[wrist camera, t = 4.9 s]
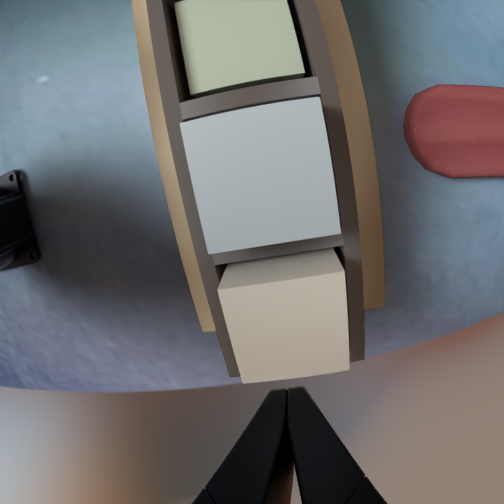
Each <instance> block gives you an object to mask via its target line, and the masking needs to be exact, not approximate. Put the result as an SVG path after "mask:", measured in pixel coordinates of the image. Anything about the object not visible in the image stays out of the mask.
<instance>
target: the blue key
mask: <svg viewBox="0 0 504 504" xmlns="http://www.w3.org/2000/svg"><path fill="white" fill-rule="evenodd" d="M180 128H181V133H182V138H183V143H184V148H185V153H186V158H187V162H188V167H189V172H190V176H191V181H192V186H193V190H194V195H195V199H196V204H197V208H198V212H199V217H200V221H201V225H202V230H203V234H204V238H205V242H206V246H207V251H208V254H214V253H221V252H227V251H233V250H240V249H246V248H252V247H259V246H265V245H272V244H278V243H284V242H291V241H297V240H304V239H310V238H317V237H323V236H330V235H336V234H341V229H340V221H339V212H338V204H337V197H336V189H335V182H334V175H333V169H332V162H331V156H330V150H329V144H328V138H327V132H326V127H325V121H324V116H323V111H322V106H321V101H320V97H313V98H305V99H298V100H291V101H284V102H278V103H272V104H266V105H260V106H255V107H249V108H244V109H239V110H234V111H229V112H225V113H220V114H216V115H211V116H207V117H203V118H199V119H195V120H191V121H187V122H183V123H180Z"/></svg>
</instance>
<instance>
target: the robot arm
mask: <svg viewBox="0 0 504 504" xmlns="http://www.w3.org/2000/svg"><path fill="white" fill-rule="evenodd" d="M13 177H14V179H13ZM33 254H34V255H33ZM34 256H35V257H34ZM40 257H41V255H40V251H39V248H38V245H37V242H36V238H35V235H34V232H33V228H32V225H31V221H30V217H29V214H28V210H27V206H26V202H25V198H24V193H23V189H22V184H21V180H20V175H19V172H18V171H17V170H12V171H9V172H7V173H5V174H4V175H2V176H0V271H2V270H6V269H10V268H15V267H19V266H24V265H28V264H32V263H35V262H37V261H39V260H40ZM294 465H295V471H296V476H297V481H298V486H299V491H300V496H301V501H302V504H387V503H386V501H385V500H384V499H383V497H382V496H381V495H380V494H379V492H378V491H377V490H376V489H375V487H374V486H373V485H372V483H371V482H370V480H369V479H368V478H367V477H365V474H364V472H363V471H362V470H361V468H360V467H359V465H358V464H357V463H356V461H355V460H354V458H353V457H352V456H351V454H350V453H349V451H348V450H347V449H346V447H345V445H344V444H343V443H342V442H341V440H340V438H339V437H338V436H337V434H336V433H335V431H334V430H333V428H332V427H331V425H330V424H329V422H328V421H327V420H326V418H325V417H324V415H323V414H322V412H321V411H320V409H319V408H318V406H317V405H316V403H315V402H314V401H313V399H312V398H311V396H310V395H309V393H308V392H307V390H306V389H305V387H303V386H298V387H290V388H288V390H287V389H285V388H281V389H272V390H270V392H269V393H268V395H267V396H266V398H265V399H264V401H263V403H262V404H261V406H260V407H259V409H258V411H257V412H256V414H255V415H254V417H253V418H252V420H251V421H250V423H249V424H248V426H247V427H246V429H245V430H244V432H243V433H242V435H241V436H240V438H239V439H238V441H237V442H236V444H235V445H234V447H233V448H232V450H231V451H230V452H229V454H228V455H227V457H226V458H225V460H224V461H223V463H222V464H221V465H220V467H219V468H218V469H217V471H216V472H215V474H214V475H213V477H212V478H211V479H210V481H209V482H208V483H207V485H206V486H205V488H206V489H203V490H202V491H201V492H200V494H199V495H198V496H197V498H196V499H195V500H194V502H193V503H192V504H290V501H291V493H292V484H293V474H294Z"/></svg>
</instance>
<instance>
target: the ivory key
mask: <svg viewBox="0 0 504 504" xmlns="http://www.w3.org/2000/svg"><path fill="white" fill-rule="evenodd" d="M217 291H218V295H219V299H220V303H221V306H222V310H223V314H224V318H225V322H226V325H227V329H228V333H229V336H230V340H231V344H232V347H233V351H234V355H235V358H236V362H237V365H238V369H239V372H240V376H241V379H242V383H255V382H266V381H275V380H284V379H293V378H301V377H308V376H315V375H322V374H328V373H334V372H340V371H346V370H349V369H350V364H349V333H348V313H347V297H346V283H345V271H344V269H343V267H342V265H341V263H340V261H339V259H338V257H337V255H336V253H335V251H334V249H333V247H330V248H323V249H317V250H310V251H304V252H297V253H291V254H284V255H278V256H271V257H265V258H258V259H252V260H245V261H238V262H232V263H228V264H227V267H226V269H225V272H224V274H223V277H222V279H221V282H220V284H219V287H218V289H217Z"/></svg>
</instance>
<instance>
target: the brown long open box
mask: <svg viewBox="0 0 504 504" xmlns="http://www.w3.org/2000/svg"><path fill="white" fill-rule="evenodd" d="M180 1H184V0H132V8H133V17H134V25H135V33H136V40H137V47H138V54H139V61H140V67H141V74H142V80H143V86H144V92H145V98H146V103H147V109H148V114H149V119H150V125H151V130H152V135H153V140H154V145H155V150H156V154H157V159H158V164H159V168H160V173H161V178H162V182H163V186H164V191H165V195H166V199H167V204H168V208H169V212H170V216H171V220H172V224H173V228H174V232H175V236H176V240H177V244H178V247H179V251H180V255H181V259H182V262H183V266H184V270H185V273H186V277H187V280H188V284H189V288H190V291H191V294H192V298H193V301H194V305H195V308H196V311H197V315H198V318H199V321H200V325H201V328H202V331H203V332H210V331H216V332H217V335H218V339H219V342H220V346H221V349H222V352H223V356H224V359H225V362H226V366H227V369H228V372H229V375H230V377H237V376H240V372H239V369H238V365H237V362H236V358H235V355H234V351H233V347H232V344H231V340H230V336H229V333H228V329H227V325H226V322H225V318H224V314H223V310H222V306H221V303H220V299H219V295H218V291H217V289H218V287H219V284H220V282H221V279H222V277H223V274H224V272H225V269H226V267H227V264H228V263H232V262H238V261H245V260H252V259H258V258H265V257H271V256H278V255H284V254H291V253H297V252H304V251H310V250H317V249H323V248H330V247H333V249H334V251H335V253H336V255H337V257H338V259H339V261H340V263H341V265H342V267H343V269H344V271H345V283H346V297H347V313H348V333H349V362H354V361H359V360H364V353H365V339H364V310H368V309H374V308H379V307H384V306H385V264H384V242H383V227H382V214H381V202H380V192H379V183H378V174H377V166H376V159H375V152H374V145H373V138H372V132H371V126H370V120H369V115H368V109H367V104H366V99H365V94H364V89H363V84H362V80H361V75H360V71H359V66H358V62H357V58H356V54H355V50H354V46H353V42H352V39H351V35H350V31H349V28H348V24H347V21H346V18H345V14H344V11H343V8H342V5H341V1H340V0H287V3H288V7H289V10H290V14H291V18H292V22H293V25H294V29H295V33H296V37H297V41H298V45H299V49H300V53H301V58H302V62H303V66H304V71H305V74H304V76H303V78H301V79H294V80H287V81H280V82H274V83H268V84H262V85H256V86H251V87H246V88H241V89H236V90H231V91H226V92H222V93H217V94H213V95H209V96H205V97H201V98H195V97H194V96H192V95H190V90H189V84H188V79H187V74H186V68H185V63H184V57H183V52H182V46H181V41H180V35H179V29H178V24H177V18H176V12H175V6H174V3H177V2H180ZM313 97H320V101H321V106H322V111H323V116H324V121H325V127H326V132H327V138H328V144H329V150H330V156H331V162H332V169H333V175H334V182H335V189H336V197H337V204H338V212H339V221H340V229H341V234H336V235H330V236H323V237H317V238H310V239H304V240H297V241H291V242H284V243H278V244H272V245H265V246H259V247H252V248H246V249H240V250H233V251H227V252H221V253H214V254H208V251H207V246H206V242H205V238H204V234H203V230H202V225H201V221H200V217H199V212H198V208H197V204H196V199H195V195H194V190H193V186H192V181H191V176H190V172H189V167H188V162H187V158H186V153H185V148H184V143H183V138H182V133H181V128H180V123H183V122H187V121H191V120H195V119H199V118H203V117H207V116H211V115H216V114H220V113H225V112H229V111H234V110H239V109H244V108H249V107H255V106H260V105H266V104H272V103H278V102H284V101H291V100H298V99H305V98H313Z"/></svg>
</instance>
